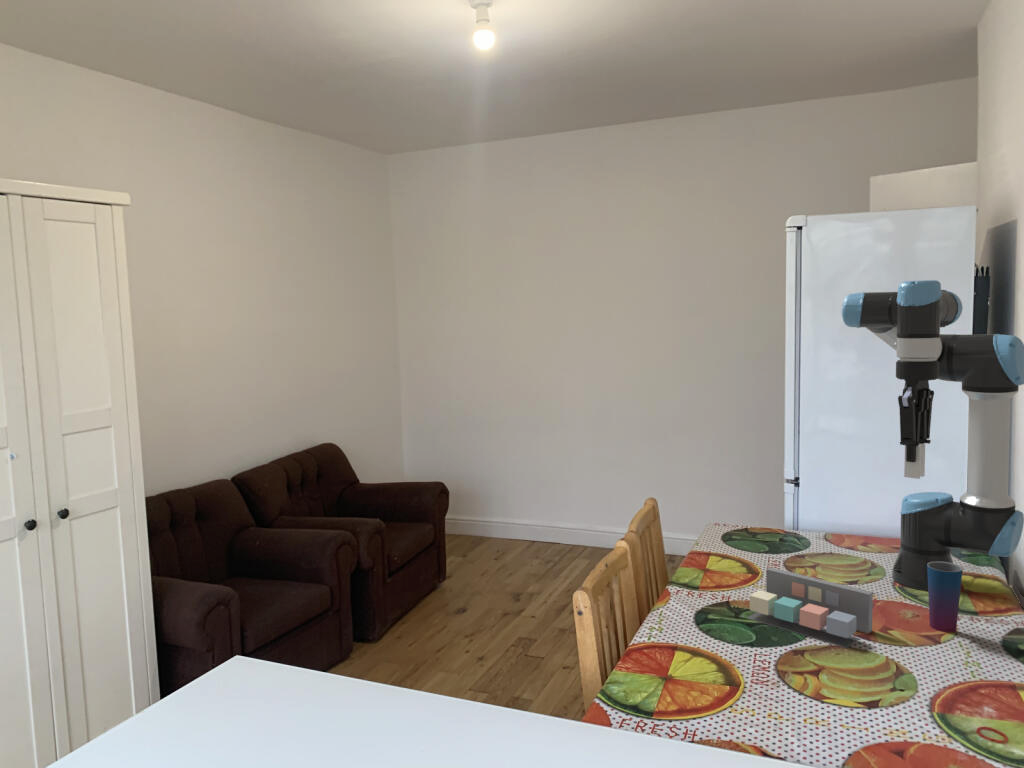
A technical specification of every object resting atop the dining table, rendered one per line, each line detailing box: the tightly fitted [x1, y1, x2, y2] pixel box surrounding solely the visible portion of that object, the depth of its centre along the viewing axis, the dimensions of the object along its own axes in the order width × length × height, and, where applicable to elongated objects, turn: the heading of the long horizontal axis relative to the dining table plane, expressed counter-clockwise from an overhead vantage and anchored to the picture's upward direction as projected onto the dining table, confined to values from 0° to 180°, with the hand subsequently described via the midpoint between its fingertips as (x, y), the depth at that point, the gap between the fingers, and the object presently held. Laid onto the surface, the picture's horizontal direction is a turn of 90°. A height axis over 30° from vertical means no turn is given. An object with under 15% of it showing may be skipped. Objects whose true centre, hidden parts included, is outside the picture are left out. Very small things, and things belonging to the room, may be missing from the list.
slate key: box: [825, 611, 857, 638], centre depth 164 cm, size 4×4×4 cm
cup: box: [927, 561, 963, 634], centre depth 168 cm, size 7×7×15 cm
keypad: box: [747, 567, 874, 649], centre depth 171 cm, size 16×24×10 cm, turn 44°
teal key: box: [773, 597, 802, 622], centre depth 172 cm, size 4×4×4 cm
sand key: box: [749, 589, 777, 615], centre depth 177 cm, size 4×4×4 cm
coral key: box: [799, 604, 829, 630], centre depth 168 cm, size 4×4×4 cm
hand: (914, 476), depth 153 cm, fingers open, 2 cm apart
